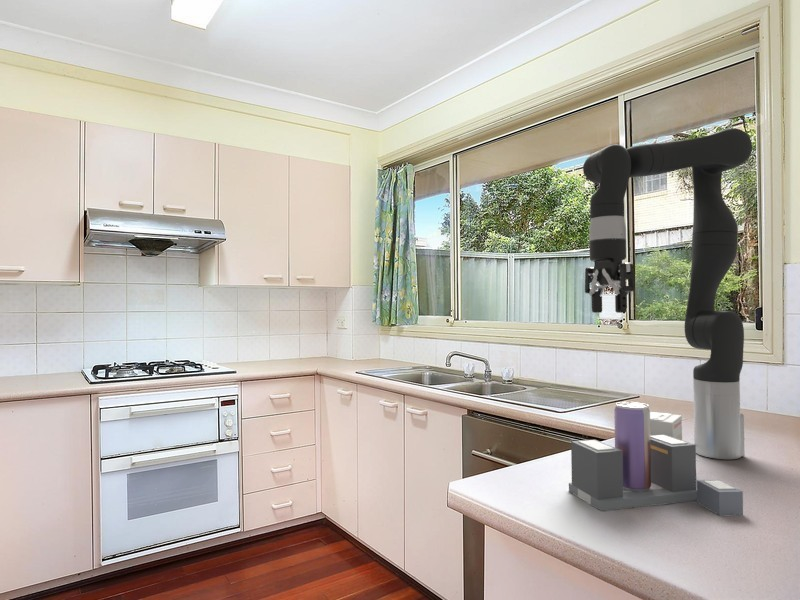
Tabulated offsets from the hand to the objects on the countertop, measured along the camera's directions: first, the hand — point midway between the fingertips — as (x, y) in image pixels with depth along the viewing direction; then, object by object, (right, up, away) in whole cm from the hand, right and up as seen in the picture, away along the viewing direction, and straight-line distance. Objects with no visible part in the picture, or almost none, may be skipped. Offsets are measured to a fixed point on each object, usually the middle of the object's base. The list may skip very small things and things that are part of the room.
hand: (608, 312), depth 116 cm
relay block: (+8, -33, -26) cm, 43 cm away
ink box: (+8, -33, -6) cm, 35 cm away
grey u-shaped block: (-3, -33, -20) cm, 39 cm away
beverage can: (-3, -32, -20) cm, 37 cm away
